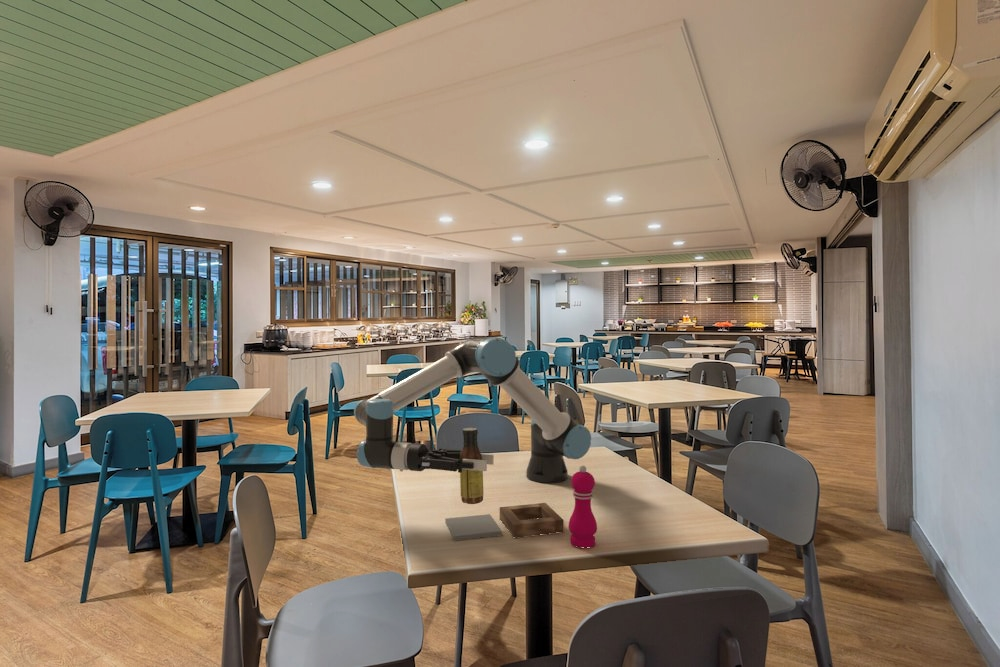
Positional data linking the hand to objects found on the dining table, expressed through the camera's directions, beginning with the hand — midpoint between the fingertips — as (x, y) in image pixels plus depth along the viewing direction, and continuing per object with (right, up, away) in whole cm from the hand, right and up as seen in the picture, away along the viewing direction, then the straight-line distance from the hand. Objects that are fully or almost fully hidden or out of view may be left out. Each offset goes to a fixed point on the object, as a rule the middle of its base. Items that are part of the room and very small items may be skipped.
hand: (489, 462), depth 142 cm
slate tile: (-5, -19, +2) cm, 19 cm away
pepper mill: (+24, -19, -8) cm, 32 cm away
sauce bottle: (-5, -11, +1) cm, 12 cm away
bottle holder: (+11, -19, +4) cm, 22 cm away
